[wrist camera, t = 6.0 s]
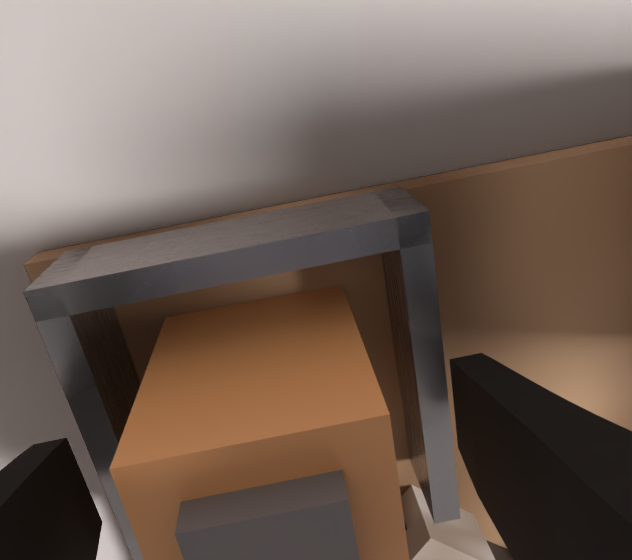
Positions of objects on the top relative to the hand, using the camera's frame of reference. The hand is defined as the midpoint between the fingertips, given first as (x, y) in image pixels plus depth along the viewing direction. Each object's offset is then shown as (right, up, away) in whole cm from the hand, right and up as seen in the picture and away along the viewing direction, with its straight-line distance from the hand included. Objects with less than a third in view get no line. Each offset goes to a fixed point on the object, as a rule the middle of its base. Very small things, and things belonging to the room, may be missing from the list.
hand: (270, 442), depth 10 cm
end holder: (0, +1, +3) cm, 3 cm away
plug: (0, +1, +3) cm, 3 cm away
